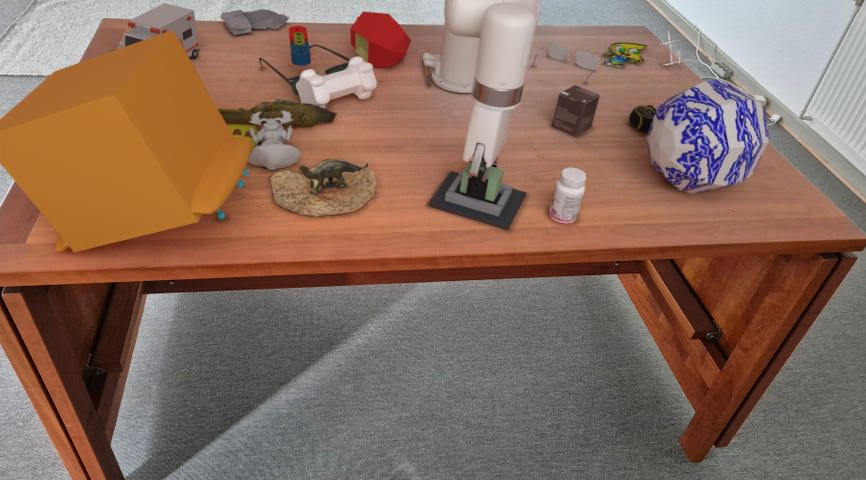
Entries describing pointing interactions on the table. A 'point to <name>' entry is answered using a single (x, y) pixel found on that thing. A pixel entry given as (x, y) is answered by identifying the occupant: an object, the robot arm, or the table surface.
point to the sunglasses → (334, 69)
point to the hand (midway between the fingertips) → (479, 189)
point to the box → (575, 110)
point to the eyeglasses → (581, 57)
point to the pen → (426, 74)
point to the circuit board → (281, 100)
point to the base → (478, 202)
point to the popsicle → (242, 131)
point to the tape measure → (642, 117)
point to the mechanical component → (299, 46)
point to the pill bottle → (568, 195)
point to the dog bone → (337, 83)
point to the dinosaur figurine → (324, 188)
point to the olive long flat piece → (299, 113)
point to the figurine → (272, 143)
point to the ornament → (708, 137)
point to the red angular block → (379, 39)
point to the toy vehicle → (165, 27)
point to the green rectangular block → (493, 183)
